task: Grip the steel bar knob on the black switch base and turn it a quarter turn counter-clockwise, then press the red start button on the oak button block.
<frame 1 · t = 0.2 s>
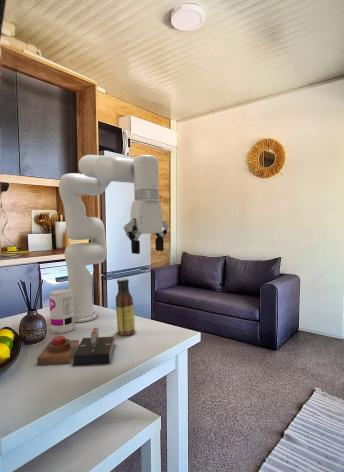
hand: (148, 252, 95), 31 cm above the table, tool pointing down, fingers open, 9 cm apart
start button: (59, 340, 94), point 5 cm above the table, slide at 0.1 cm
sauce bottle: (125, 333, 111), on the table
button block: (59, 355, 94), on the table
switch base: (95, 354, 94), on the table
dial: (94, 337, 93), point 5 cm above the table, hinge at 0.0°
supplement can: (62, 330, 115), on the table
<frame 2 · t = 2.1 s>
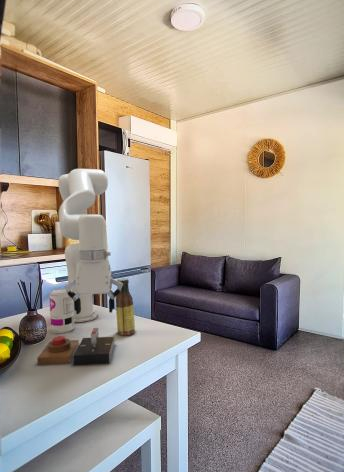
hand: (94, 312, 93), 13 cm above the table, tool pointing down, fingers open, 9 cm apart
nothing on the table moved.
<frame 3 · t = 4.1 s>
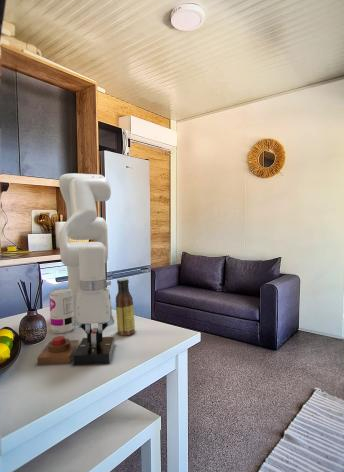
hand: (95, 344, 94), 3 cm above the table, tool pointing down, fingers closed on dial
dial: (94, 337, 93), point 5 cm above the table, hinge at 0.0°, touching gripper
everything else where it was.
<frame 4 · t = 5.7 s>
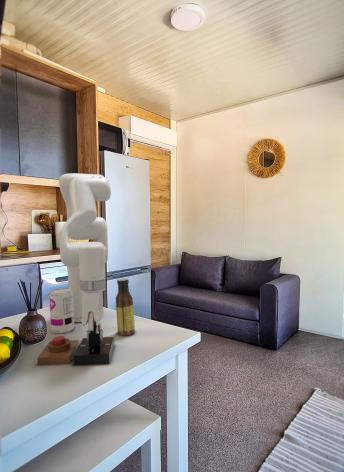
hand: (95, 344, 93), 3 cm above the table, tool pointing down, fingers closed
dial: (94, 337, 93), point 5 cm above the table, hinge at 89.8°
everything else where it was.
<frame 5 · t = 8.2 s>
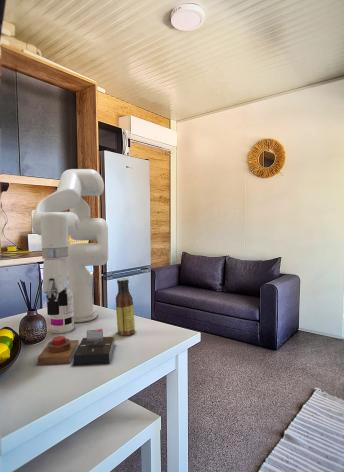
hand: (58, 309, 93), 14 cm above the table, tool pointing down, fingers open, 8 cm apart
nothing on the table moved.
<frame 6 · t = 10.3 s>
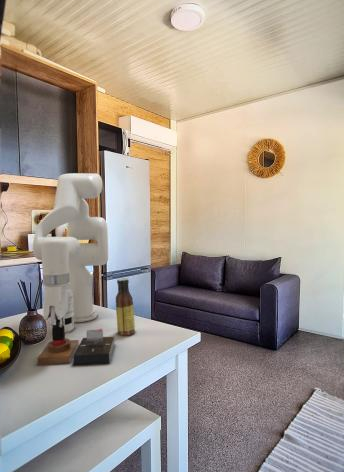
hand: (58, 339, 93), 5 cm above the table, tool pointing down, fingers closed
start button: (59, 341, 94), point 4 cm above the table, slide at -0.1 cm, touching gripper
everything else where it was.
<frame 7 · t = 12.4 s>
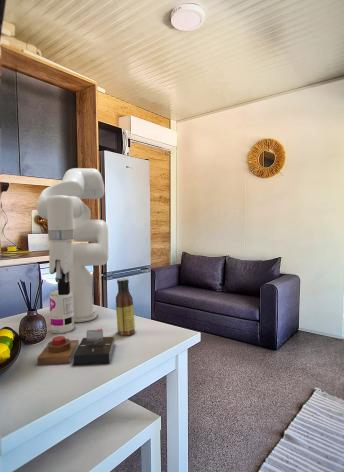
hand: (64, 294, 96), 18 cm above the table, tool pointing down, fingers closed
start button: (59, 340, 94), point 5 cm above the table, slide at 0.1 cm
everything else where it was.
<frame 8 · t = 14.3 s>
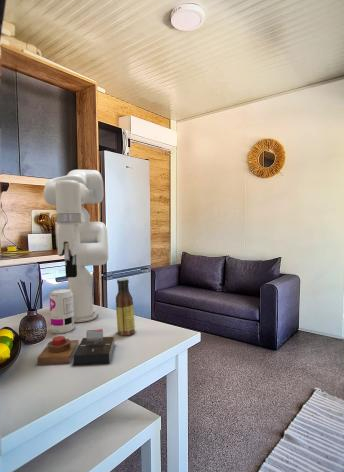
hand: (71, 276, 98), 23 cm above the table, tool pointing down, fingers closed
nothing on the table moved.
at the end: dial at +90° (first picture: +0°); start button pushed in 1.1 cm at the most during the clip and back out by the end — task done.
